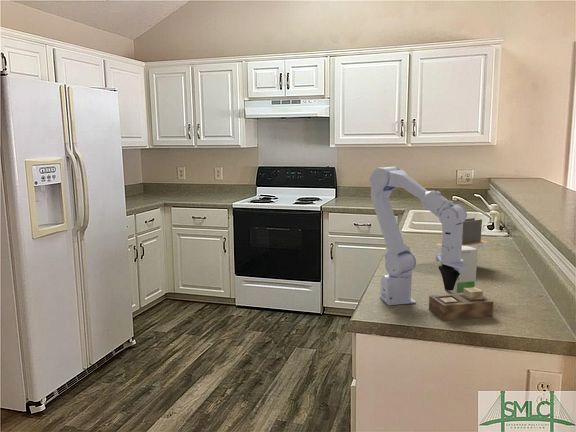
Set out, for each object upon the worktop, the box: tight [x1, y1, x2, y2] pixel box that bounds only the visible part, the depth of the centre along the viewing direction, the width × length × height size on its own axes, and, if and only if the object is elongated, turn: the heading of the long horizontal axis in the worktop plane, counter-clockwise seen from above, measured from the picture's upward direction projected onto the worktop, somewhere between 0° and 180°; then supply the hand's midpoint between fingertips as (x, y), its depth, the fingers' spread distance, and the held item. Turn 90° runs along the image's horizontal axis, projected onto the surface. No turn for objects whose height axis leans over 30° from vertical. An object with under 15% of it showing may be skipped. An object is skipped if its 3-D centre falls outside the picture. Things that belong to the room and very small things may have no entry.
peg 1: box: [440, 297, 456, 302], centre depth 145 cm, size 4×4×4 cm
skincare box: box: [448, 246, 479, 294], centre depth 164 cm, size 8×7×16 cm
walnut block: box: [428, 293, 494, 321], centre depth 146 cm, size 16×9×5 cm, turn 101°
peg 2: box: [463, 286, 484, 300], centre depth 146 cm, size 4×4×4 cm
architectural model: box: [435, 217, 488, 266], centre depth 192 cm, size 38×25×20 cm, turn 119°
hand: (448, 289), depth 144 cm, fingers closed
